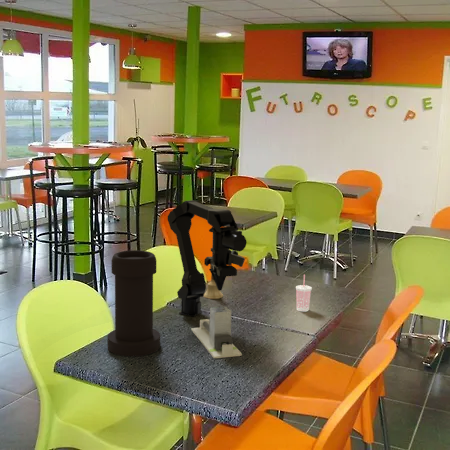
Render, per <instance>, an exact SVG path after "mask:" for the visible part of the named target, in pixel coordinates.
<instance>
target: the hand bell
mask: <svg viewBox="0 0 450 450" xmlns="http://www.w3.org/2000/svg"><path fill="white" fill-rule="evenodd" d="M209 267H210V268H209V269H212V265H211V264H209ZM210 275H211V276H210V277H211V278H210V282H208V283H207V286H206V289H205V293H204V296H203V298H206V299H210V300H218V299H222V298H223V297H224V294H223V293H222V292H221V290H218V289H217V286H216V284H215V281H214V279H213V277H212V274H211V273H210Z"/></svg>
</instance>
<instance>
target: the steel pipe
mask: <svg viewBox="0 0 450 450" xmlns="http://www.w3.org/2000/svg"><path fill="white" fill-rule="evenodd" d="M203 326H204V327H205V328H206V330H207V331H208V332H209V333H210V323H209V324H208V323H207V322H204V323H203ZM222 345H227V343H226V342H221V347H222Z"/></svg>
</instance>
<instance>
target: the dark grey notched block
mask: <svg viewBox="0 0 450 450" xmlns="http://www.w3.org/2000/svg"><path fill="white" fill-rule="evenodd" d="M221 342H226V343H227V345H229V344H233V337H232V335H224V336H215V349H216V350H217V351H219V350H221Z"/></svg>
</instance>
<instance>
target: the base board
mask: <svg viewBox="0 0 450 450" xmlns="http://www.w3.org/2000/svg"><path fill="white" fill-rule="evenodd" d="M204 322H207V323H208V324H209V325H210V318H207V319H206V318H205V319H200V320H199V327H191V329H190V331H192V332H193V334H194V335H195V337H197V339H198V340H199V341H200V342H201V344H202V346H203V347H204V348H205V349H206V350H207V352H208V353H209V354H210V355H211V356H212V358H213V359H221V358H231V357H233V358H234V357H240V356H243V355H242V352H241V351H240V350H239V349H238V348H237V347H236V346H235V344H233V343H232V344H229V345H222V347H221V350H219V351H217V350H216V349H215V348H214V347H213V346H212V345H211V344H210V342H209V337H210V333H209V332H208V331H207V330H206V328H205V327H204V326H203V323H204Z"/></svg>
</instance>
